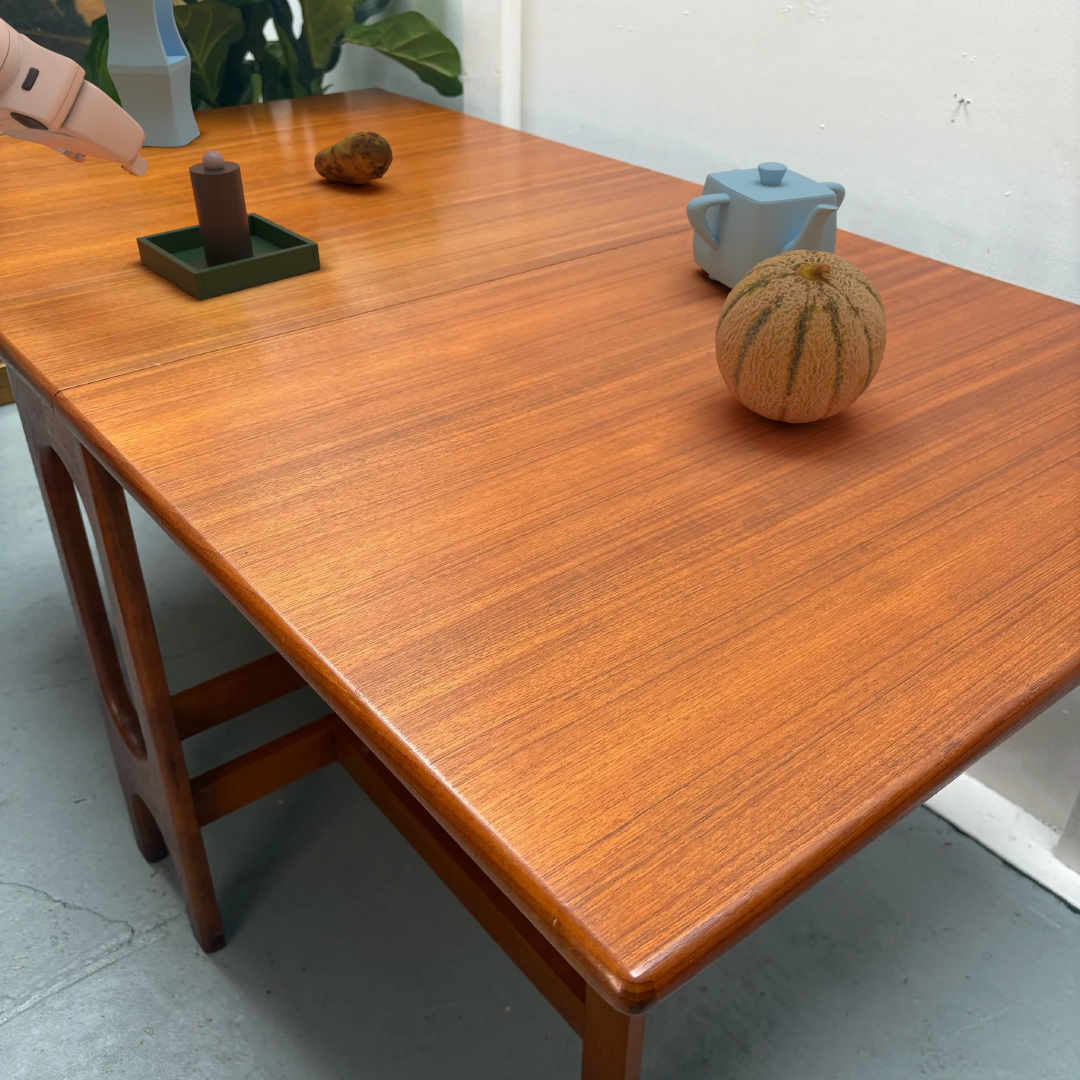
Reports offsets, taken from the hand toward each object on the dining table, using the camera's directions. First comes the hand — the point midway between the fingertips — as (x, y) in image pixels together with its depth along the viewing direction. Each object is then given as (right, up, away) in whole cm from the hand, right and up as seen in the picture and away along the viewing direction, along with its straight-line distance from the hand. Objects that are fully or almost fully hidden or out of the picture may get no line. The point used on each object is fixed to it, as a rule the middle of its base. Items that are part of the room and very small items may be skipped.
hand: (111, 163), depth 107 cm
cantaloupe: (+68, -28, -14) cm, 75 cm away
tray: (+8, -7, +15) cm, 19 cm away
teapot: (+71, -10, +11) cm, 73 cm away
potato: (+18, +13, +44) cm, 49 cm away
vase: (-18, +28, +65) cm, 73 cm away
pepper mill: (+8, -6, +15) cm, 18 cm away
